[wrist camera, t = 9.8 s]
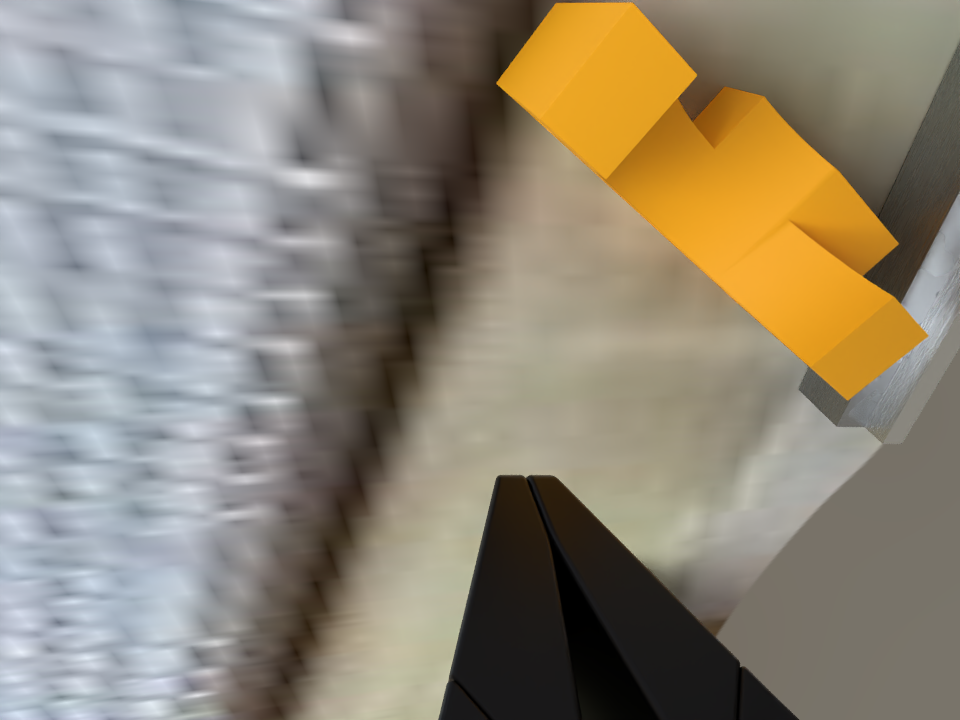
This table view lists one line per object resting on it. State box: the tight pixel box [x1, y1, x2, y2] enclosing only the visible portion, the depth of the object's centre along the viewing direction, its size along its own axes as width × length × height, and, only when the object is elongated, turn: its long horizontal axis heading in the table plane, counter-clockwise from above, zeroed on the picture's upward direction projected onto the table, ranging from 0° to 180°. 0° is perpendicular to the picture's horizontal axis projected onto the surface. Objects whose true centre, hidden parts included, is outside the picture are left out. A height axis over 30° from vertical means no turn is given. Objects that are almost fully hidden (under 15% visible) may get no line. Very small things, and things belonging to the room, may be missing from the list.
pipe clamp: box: [496, 3, 929, 401], centre depth 16 cm, size 12×4×6 cm, turn 51°
